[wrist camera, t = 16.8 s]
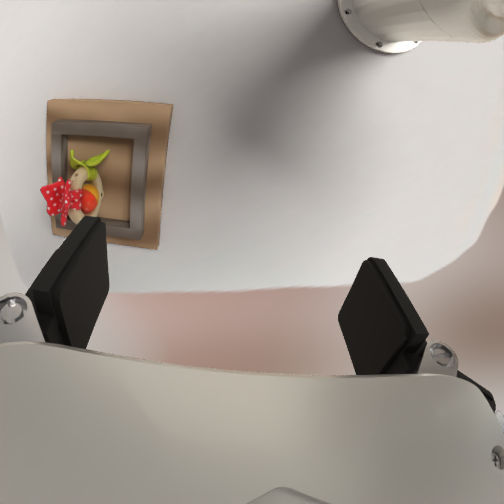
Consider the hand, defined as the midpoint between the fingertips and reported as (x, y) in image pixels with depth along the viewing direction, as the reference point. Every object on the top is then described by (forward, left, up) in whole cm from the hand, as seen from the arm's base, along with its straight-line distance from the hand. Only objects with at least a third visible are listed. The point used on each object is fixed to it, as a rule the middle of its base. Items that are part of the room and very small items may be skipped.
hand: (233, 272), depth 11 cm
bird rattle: (+9, -16, -29) cm, 34 cm away
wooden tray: (+9, -16, -30) cm, 35 cm away
